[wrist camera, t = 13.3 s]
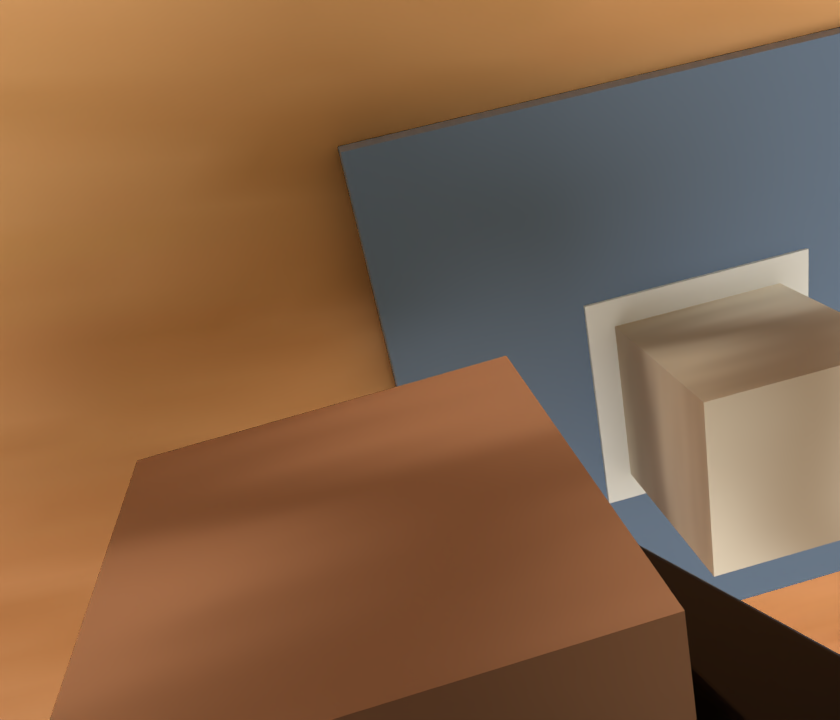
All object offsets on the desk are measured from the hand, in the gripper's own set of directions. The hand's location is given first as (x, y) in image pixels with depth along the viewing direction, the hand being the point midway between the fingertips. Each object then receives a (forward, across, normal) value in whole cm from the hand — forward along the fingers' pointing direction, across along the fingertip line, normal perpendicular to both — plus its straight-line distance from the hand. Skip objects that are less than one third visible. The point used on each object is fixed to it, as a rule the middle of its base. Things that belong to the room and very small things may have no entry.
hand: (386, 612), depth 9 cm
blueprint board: (+11, -9, +4) cm, 15 cm away
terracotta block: (+1, 0, 0) cm, 1 cm away
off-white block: (+10, -9, +4) cm, 14 cm away
